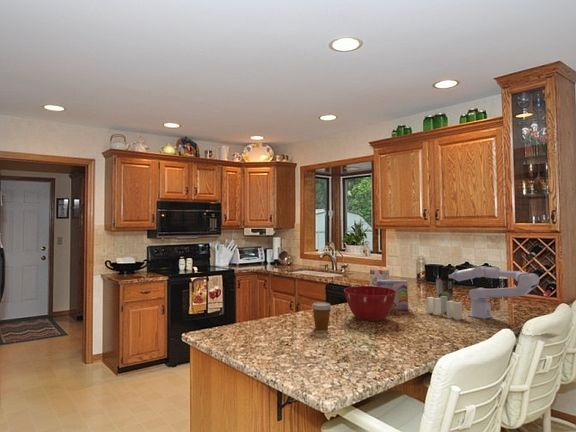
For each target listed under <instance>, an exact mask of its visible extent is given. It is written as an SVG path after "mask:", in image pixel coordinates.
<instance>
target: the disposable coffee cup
mask: <svg viewBox="0 0 576 432" xmlns="http://www.w3.org/2000/svg"><path fill="white" fill-rule="evenodd" d="M331 308H332V305H331V303H329V302H324V301H323V302H321V301H317V302H314V303H312V305H311V309H312V311H313V321H314V328H315V329H316V330H320V331H324V330H328V328H329V322H330V313H331Z"/></svg>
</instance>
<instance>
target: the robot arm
mask: <svg viewBox="0 0 576 432" xmlns="http://www.w3.org/2000/svg"><path fill="white" fill-rule="evenodd" d="M482 277H484V278H489V279H499V278H500V277H504V278H510V279H514V280H515V281H516V282H518V283H517V285H516V286H513V287H500V288H485V287H479V288H472V289H470V290H469V292H468V296H469V298H470V304H471V309H470V314H468V315H467V316H469V317H473V318H477V319H481V320H482V319H483V320H484V319H489V318H492V317H493V316H492V305H491V303H490V302H489V301H486V299H488V298H489V299H490V298H504V297H506V298H508V297H522V296H525V295H528V294H529V293H530V292H531V291H532V290H534V289H535V288H537V287H538V285H539V284H540V276H539V275H538V274H536V273H534V272H532V273H530V272H529V271H528V272H527V271H519V270H518V271H517V270H501V269H500V268H499V267H496V266H494V265H493V266H491V267H490V266H486V265H484V266H483V265H481V266H480V265H479V266H476V267H470V268H467V269H466V268H465V269H461V270H459V269H458V268H456V269H454V272H453V273H451V271H447V272H446V274H444V275H442V276H440V278H441V281H450V282H452V281H453V282H454V281H457V282H463V281H467V280H471V279H472V280H473V279H475V278H482Z"/></svg>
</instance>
